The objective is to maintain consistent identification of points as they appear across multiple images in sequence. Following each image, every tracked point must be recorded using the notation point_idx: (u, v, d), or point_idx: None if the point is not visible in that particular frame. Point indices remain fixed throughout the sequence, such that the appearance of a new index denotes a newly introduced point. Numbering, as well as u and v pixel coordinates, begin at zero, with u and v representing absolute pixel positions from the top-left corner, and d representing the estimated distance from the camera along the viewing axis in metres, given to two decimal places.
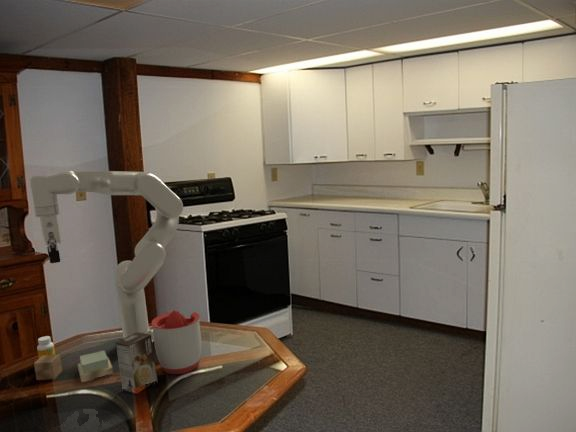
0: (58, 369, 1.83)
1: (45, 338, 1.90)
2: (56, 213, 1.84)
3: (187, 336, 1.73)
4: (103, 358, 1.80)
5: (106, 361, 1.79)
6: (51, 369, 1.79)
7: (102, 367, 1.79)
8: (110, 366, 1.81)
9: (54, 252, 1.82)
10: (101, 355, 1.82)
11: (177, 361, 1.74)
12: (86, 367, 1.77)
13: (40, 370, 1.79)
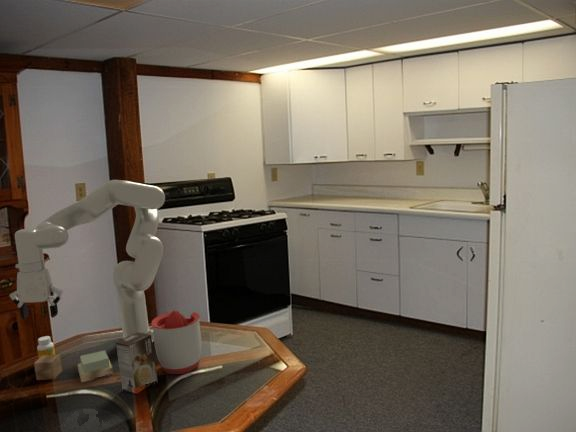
0: (58, 369, 1.83)
1: (45, 338, 1.90)
2: (20, 272, 1.74)
3: (187, 336, 1.73)
4: (104, 358, 1.80)
5: (107, 361, 1.80)
6: (51, 369, 1.79)
7: (103, 367, 1.79)
8: (110, 366, 1.81)
9: None
10: (102, 355, 1.82)
11: (177, 361, 1.74)
12: (87, 367, 1.77)
13: (40, 370, 1.79)
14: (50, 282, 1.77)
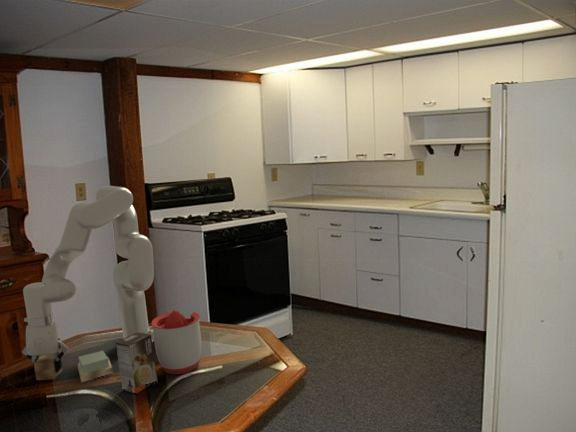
0: None
1: None
2: (29, 326, 1.77)
3: (187, 336, 1.73)
4: (103, 358, 1.80)
5: (106, 361, 1.80)
6: (51, 369, 1.79)
7: (102, 367, 1.79)
8: (110, 366, 1.81)
9: None
10: (101, 355, 1.82)
11: (177, 361, 1.74)
12: (86, 367, 1.77)
13: (40, 370, 1.79)
14: (58, 335, 1.80)
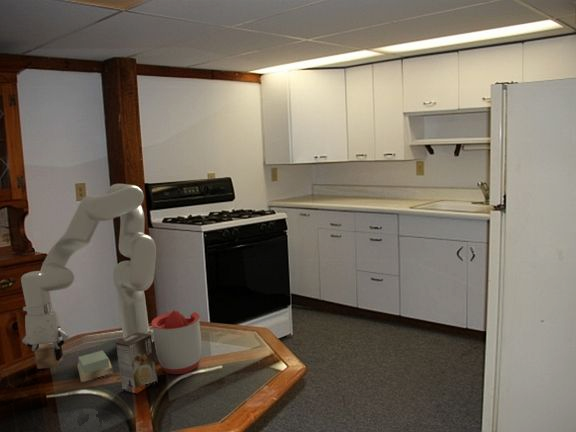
0: None
1: None
2: (28, 315, 1.76)
3: (187, 336, 1.73)
4: (103, 358, 1.80)
5: (106, 360, 1.80)
6: (52, 357, 1.79)
7: (103, 367, 1.79)
8: (110, 366, 1.81)
9: None
10: (101, 355, 1.82)
11: (177, 361, 1.74)
12: (87, 367, 1.77)
13: (40, 359, 1.79)
14: (58, 323, 1.80)
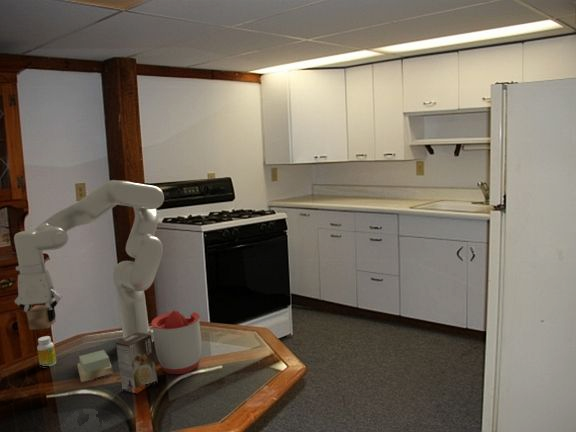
0: None
1: (45, 338, 1.90)
2: (21, 274, 1.74)
3: (187, 336, 1.73)
4: (104, 357, 1.81)
5: (107, 360, 1.80)
6: (44, 318, 1.76)
7: (103, 366, 1.80)
8: (110, 366, 1.81)
9: None
10: (102, 355, 1.83)
11: (177, 361, 1.74)
12: (88, 366, 1.77)
13: (33, 319, 1.76)
14: (51, 284, 1.78)
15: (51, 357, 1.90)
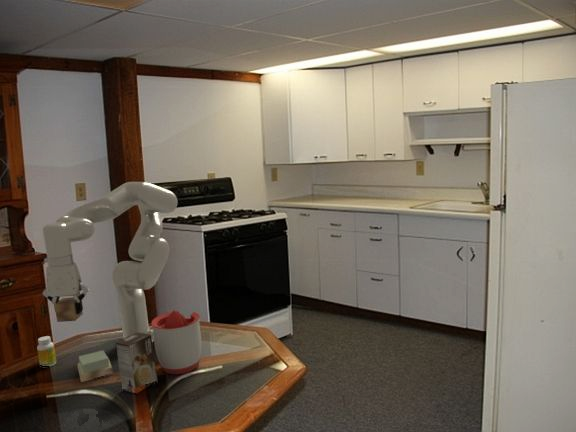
0: None
1: (45, 338, 1.90)
2: (49, 266, 1.73)
3: (187, 336, 1.73)
4: (103, 358, 1.80)
5: (106, 360, 1.80)
6: (72, 310, 1.76)
7: (102, 367, 1.79)
8: (110, 366, 1.81)
9: None
10: (101, 355, 1.82)
11: (177, 361, 1.74)
12: (86, 367, 1.77)
13: (60, 312, 1.76)
14: (79, 276, 1.77)
15: (51, 357, 1.90)
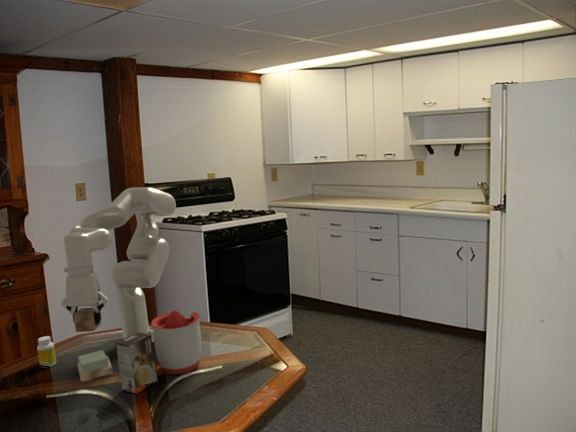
0: None
1: (45, 338, 1.90)
2: (70, 276, 1.74)
3: (187, 336, 1.73)
4: (102, 357, 1.80)
5: (106, 360, 1.80)
6: (91, 320, 1.76)
7: (102, 366, 1.79)
8: (110, 365, 1.81)
9: None
10: (100, 355, 1.82)
11: (177, 361, 1.74)
12: (86, 367, 1.77)
13: (79, 322, 1.76)
14: (98, 286, 1.77)
15: (51, 357, 1.90)
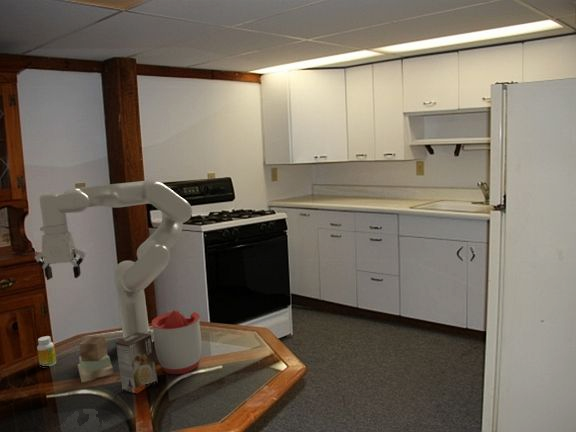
0: (103, 351, 1.81)
1: (45, 338, 1.90)
2: (45, 234, 1.83)
3: (187, 336, 1.73)
4: (105, 357, 1.81)
5: (108, 359, 1.80)
6: (95, 351, 1.78)
7: (104, 366, 1.80)
8: (110, 366, 1.80)
9: None
10: None
11: (177, 361, 1.74)
12: (88, 367, 1.77)
13: (85, 351, 1.78)
14: (73, 244, 1.86)
15: (51, 357, 1.90)
